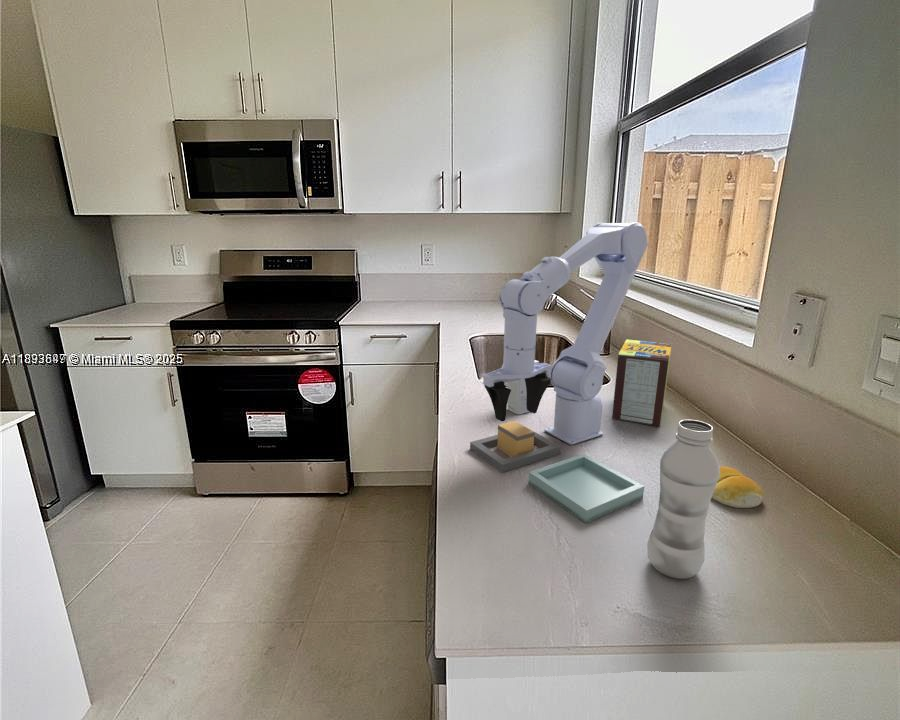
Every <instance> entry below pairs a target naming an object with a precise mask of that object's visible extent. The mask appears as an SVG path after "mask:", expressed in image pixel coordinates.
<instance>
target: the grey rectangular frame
mask: <svg viewBox="0 0 900 720" xmlns="http://www.w3.org/2000/svg"><path fill="white" fill-rule="evenodd" d="M534 432H535V435H534V444H535V445H536V446H538V447H539V448H536V449H533V451H530V452H526V453H523V454H520V455H517V456H513V457H511V456H509V457H507V458H504V457H502V456H500V455H499V454H497V453H496V452H495V451H493V450H492V449H490V448H494V447H497V446H498V434H495V435H492V436H488V437H484V438H481V439H477V440H473V441H470V443H469V449H470V450H471V451H472V452H473V453H474V454H476V455H477V456H479V457H480V458H481V459H483V460H484V461H486V462H487V463H489V464H490V465H491V466H493V467H494V468H496V469H497V470H499V471H500V472H501V473H506V472H509V471H511V470H514V469H517V468H520V467H523V466H526V465H530V464H532V463H536V462H539V461H542V460H545V459H548V458H551V457H555V456H557V455H560V454H561V453H562V445H560V444H557V443H555V442H554V441H552V440H550V439H549V438H547V437H544V436H543V435H541V434H540V433H537V431H534Z"/></svg>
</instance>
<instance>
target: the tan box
mask: <svg viewBox="0 0 900 720" xmlns="http://www.w3.org/2000/svg"><path fill="white" fill-rule="evenodd" d="M535 432H536V431H534V430H532V429H531V428H529V427H527V426H525V425H523V424H521V423H519V422H517V421H516V420H511V421H508V422H504V423H500V424H498V425H497V435H498V446H496V447H497V449H499V451H502V452H503V453H505V455H508V456H509V457H513V456H517V455H520V454H523V453H526V452H530V451H533V450H534V446H535V445H534V435H535Z"/></svg>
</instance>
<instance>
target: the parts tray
mask: <svg viewBox="0 0 900 720" xmlns="http://www.w3.org/2000/svg"><path fill="white" fill-rule="evenodd" d="M528 484H529V485H530V486H531V487H532V488H534V489H536V490H537V491H538V492H540V493H541V494H543V495H544V496H546V497H547V498H549V499H550V500H551V501H553V502H554V503H556V504H557V505H558V506H560V507H561V508H563V509H565V510H566V511H568V512H569V513H570V514H572V515H573V516H575V517H576V518H577V519H579V520H580V521H582V522H583V523H585V524H588V523H590V522H592V521H594V520H597V519H599V518H601V517H604V516H606V515H608V514H610V513H613V512H615V511H617V510H620V509H621V508H624V507H626V506H628V505H630V504H633V503H636V502H637V501H640V500H641V499H643V498H644V493H645V485H643V484H642V483H640V482H638V481H635V480H634V479H632V478H630V477H628V476H627V475H625V474H623V473H622V472H619V471H617V470H616V469H613V468H611V467H609V466H608V465H606V464H604V463H603V462H600V461H599V460H597V459H596V458H593V457H591V456H589V455H587V454H585V453H581V454H578V455H575V456H572V457H569V458H567V459H564V460H561V461H557V462H555V463H552V464H549V465H545V466H543V467H539V468H537V469H534V470H531V471H528Z"/></svg>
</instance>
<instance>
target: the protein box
mask: <svg viewBox="0 0 900 720" xmlns="http://www.w3.org/2000/svg"><path fill="white" fill-rule="evenodd" d="M671 354H672V343H665V342H658V341H657V342H656V341H645V340H639V339H638V340H635V339H625V341H624V343H623V345H622V347H621V348H620V350H619V352H618V354H617V365H616V373H615V384H614V394H613V405H612V415H611V419H612V420H619V421H623V422H629V423H630V422H631V423H635V424H641V425H648V426H653V427H658V426H659V427H661V423H662V417H663V410H664V404H665V397H666V390H667V385H668V375H669V370H670V362H671ZM659 427H658V428H659Z"/></svg>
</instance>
